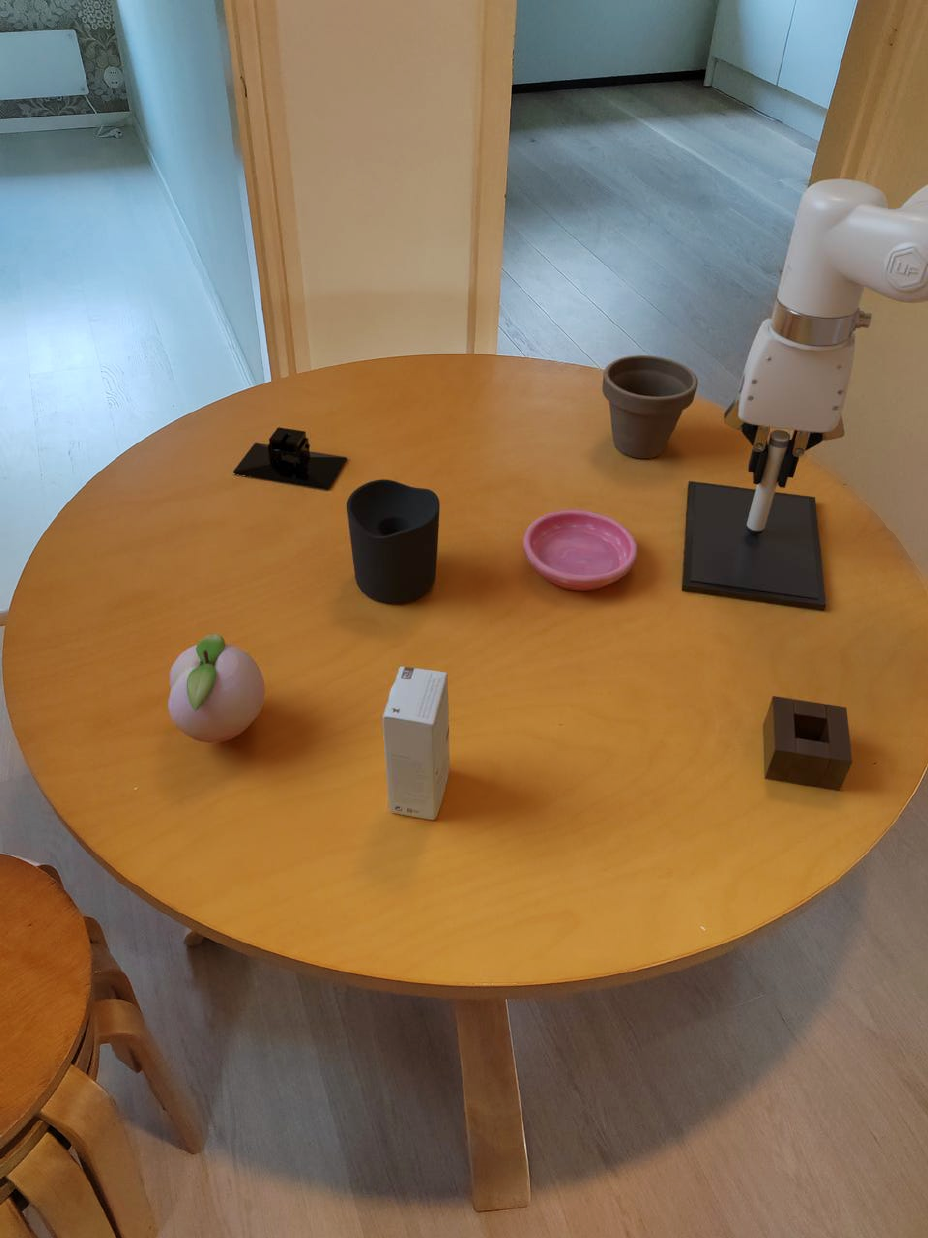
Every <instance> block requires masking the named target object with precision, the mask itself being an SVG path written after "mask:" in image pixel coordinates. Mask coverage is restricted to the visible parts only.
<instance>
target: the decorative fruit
mask: <svg viewBox="0 0 928 1238" xmlns="http://www.w3.org/2000/svg"><path fill="white" fill-rule="evenodd" d="M169 684H170V688H171V689H170V694H169V697H168V701H167V704H168V705H167V706H168V707H167V709H168V713H169V716H170V718H171V720H172V721H173V723H174V724H175V726H176V727H177V728H178V729H179V730H180V731H181V732H182V733H183V734H185V735H186V736H188V737H190V738H191V739H194V740H196V741H199V742H203V743H209V744H210V743H211V744H212V743H213V744H214V743H221V742H225V741H229V740H231V739H233V738H236V737H237V736H238V735H240V734H241V733H243V732H244V731H245V730H246V729H248V727H249V726H251V724H252V723H253V722H254V721H255V720H256V719H257V717H258V715H259V714H260V712H261V710H262V708H263V704H264V702H265V701H264V700H265V691H266V690H265V680H264V677H263V674H262V671H261V669H260V667H259V664H258V662H257V661H256V660H255V659H254V658H253V657H252V656H251V655H250V654H249V653H248V652H247V651H246V650H243V649H242V648H240V647H237V646H235V645H231V644H226V641H225V638H224V637H223V636H222V635H220V634H218V633H211V634H207V635H206V636H204V637H203V638H202V639H201V640H200V641H199V642H198V643H197V644H196V645H193V646H190V647H189V648H187V649H185V650H184V651H182V652H181V653H180V654H179V655H178V656H177V658H176V659H175V661H174V662H173V664H172V667H171V668H170V672H169Z"/></svg>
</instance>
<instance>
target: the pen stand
mask: <svg viewBox="0 0 928 1238" xmlns="http://www.w3.org/2000/svg"><path fill="white" fill-rule="evenodd" d="M848 719H849V718H848V710H847V707H846V706H841V705H835V704H828V703H827V704H826V703H819V702H813V701H807V700H801V699H794V698H789V697H782V696H776V695H773V696H772V697H771V700H770V704H769V706H768V709H767V711H766V715H765V718H764V721H763V725H762V734H763V735H762V736H763V772H764V779H765V780H772V781H778V782H783V783H789V784H795V785H800V786H801V785H802V786H807V787H814V788H821V789H825V790H831V791H832V790H833V791H838V792H840V791H841V789H842V787H843V784H844V782H845V780H846V778H847V775H848V773H849V771H850V768H851V766H852V765H853V756H852V755H853V754H852V747H851V746H852V745H851V738H850V737H851V736H850V729H849V720H848Z"/></svg>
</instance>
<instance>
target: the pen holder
mask: <svg viewBox="0 0 928 1238" xmlns="http://www.w3.org/2000/svg"><path fill="white" fill-rule="evenodd" d="M346 501H347V502H346V514H347V522H348V523H347V524H348V531H349V540H350V548H351V556H352V557H351V558H352V564H353V571H354V576H355V583H356V585H357V587H358V588H359V590H360V591H361V593H363V594H364V595H365V596H367V597H368V598H370V599H372V600H374V601H376V602H379V603H383V604H390V605H397V604H398V605H400V604H406V603H411V602H413V601H416V600H418V599H420V598H422V597H423V596H425V595H426V594H428V592H429V591H430V590H431V589H432V588H433V586H434V584H435V581H436V575H437V564H438V563H437V561H438V546H439V545H438V543H439V527H440V524H439V523H440V507H441V505H440V504H441V503H440V499H439V497H438V495H437V493H435V492H434V491H433V490H432V489H428V488H422V487H414V486H409V485H407V484H404V483H401V482H398V481H397V480H392V479H383V478H381V479H375V480H371V481H369V482H365V483H364V484H362V485H360V486H358V487H357V488H356V489H354V490H353V491H352V492H351V493H350V495H349V496H348V498H347V500H346Z"/></svg>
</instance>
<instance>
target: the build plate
mask: <svg viewBox="0 0 928 1238" xmlns="http://www.w3.org/2000/svg"><path fill="white" fill-rule="evenodd" d="M306 433H307V432H306V431H304V430H299V429H294V428H293V429H291V428H285V427H280V426H279V427H276V429H275V431H274V432H273V433H272V434H271V436H270V437H269V438H268V442H269V443H268V444H267V443H262V442H261V443H260V442H254V443H253V445H252V446H251V447H250V449H249V450H248V451H247V452H246V454H245V455H244V456H243V457H242V459H241V460H240V462H239V463H238V464H237V466H236V467H235V468H234V470H233V471H232V472H233V473H235V474H239V475H245V476H249V477H248V478H251V477H253V478H252V479H257V478H259V479H258V480H263V479H264V480H263V481H269V480H270V481H269V482H275V483H281V484H287V485H293V486H299V487H305V488H311V489H317V490H323V491H329V490H330V489H331V488H332V486H333V485H334V482H335V481H336V479H337V478H338V476H339V474H341V471H342V470H343V468H344V467H345V465H346V463H347V461H348V457H347V456H343V455H342V456H341V455H336V454H330V453H323V452H318V451H317V452H316V451H311V450H310V448H311V444H310V441H309V437H307V434H306ZM239 475H238V476H239ZM245 476H244V477H245ZM250 476H251V477H250ZM254 477H255V478H254Z"/></svg>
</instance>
